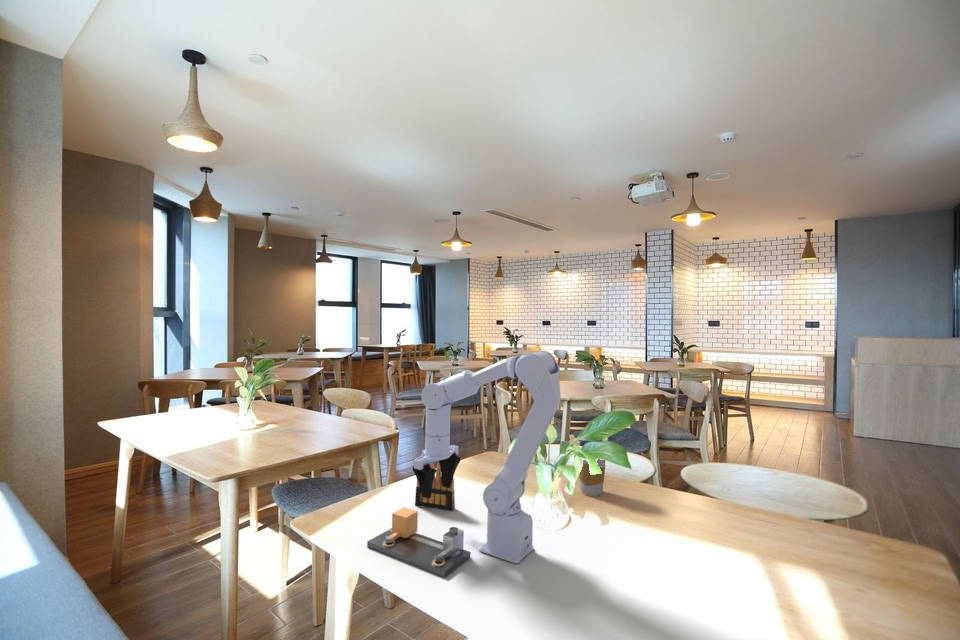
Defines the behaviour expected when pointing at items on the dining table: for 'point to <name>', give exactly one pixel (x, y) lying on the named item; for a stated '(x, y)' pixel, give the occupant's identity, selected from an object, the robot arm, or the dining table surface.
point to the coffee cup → (591, 478)
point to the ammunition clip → (437, 494)
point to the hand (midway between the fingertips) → (436, 491)
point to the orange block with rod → (403, 524)
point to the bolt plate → (425, 550)
